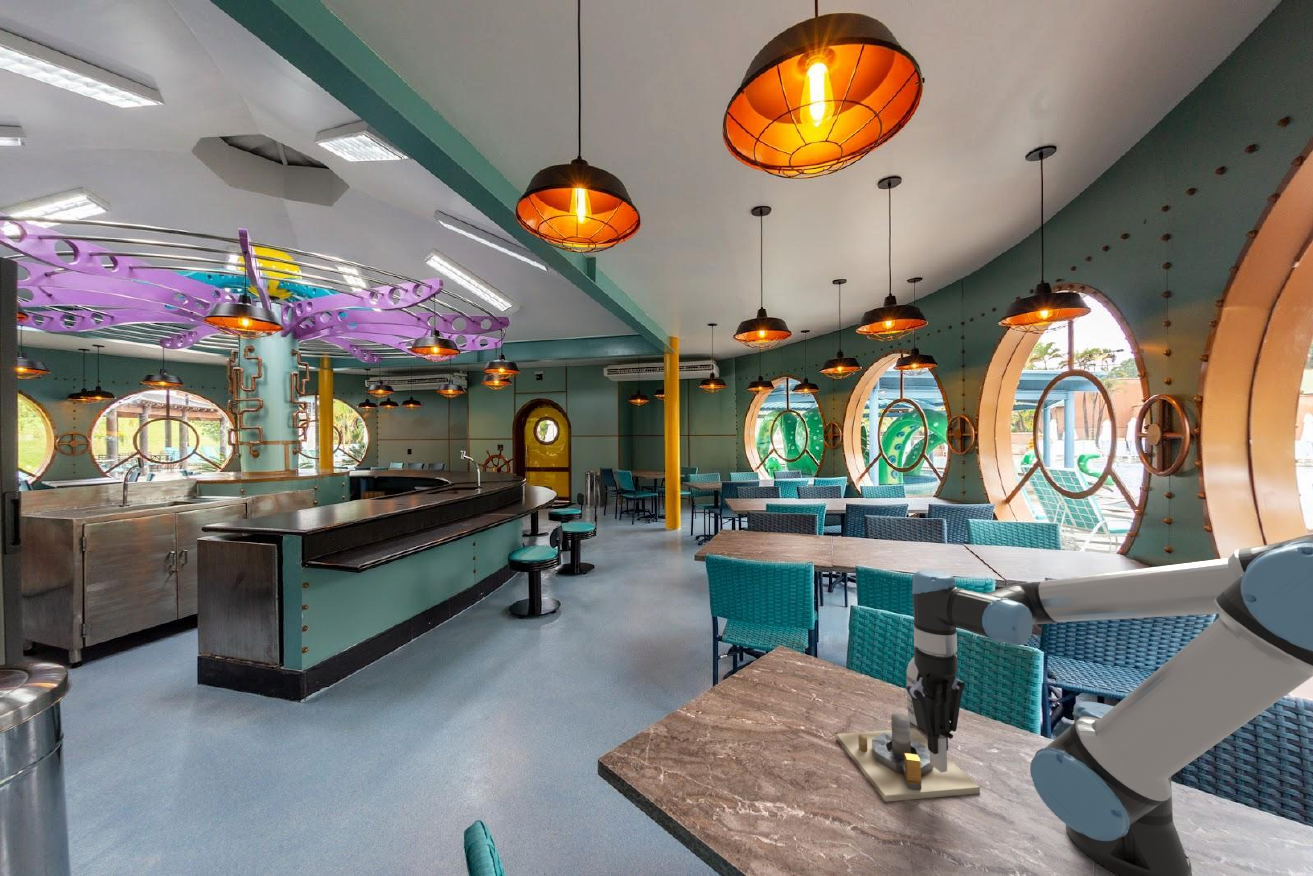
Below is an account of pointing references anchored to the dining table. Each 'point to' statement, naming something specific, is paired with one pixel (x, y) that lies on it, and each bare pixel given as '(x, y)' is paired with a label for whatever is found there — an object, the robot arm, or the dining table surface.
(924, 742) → the post base
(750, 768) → the dining table surface
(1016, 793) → the dining table surface
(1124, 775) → the robot arm
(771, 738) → the dining table surface
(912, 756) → the flange
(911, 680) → the bath foam
